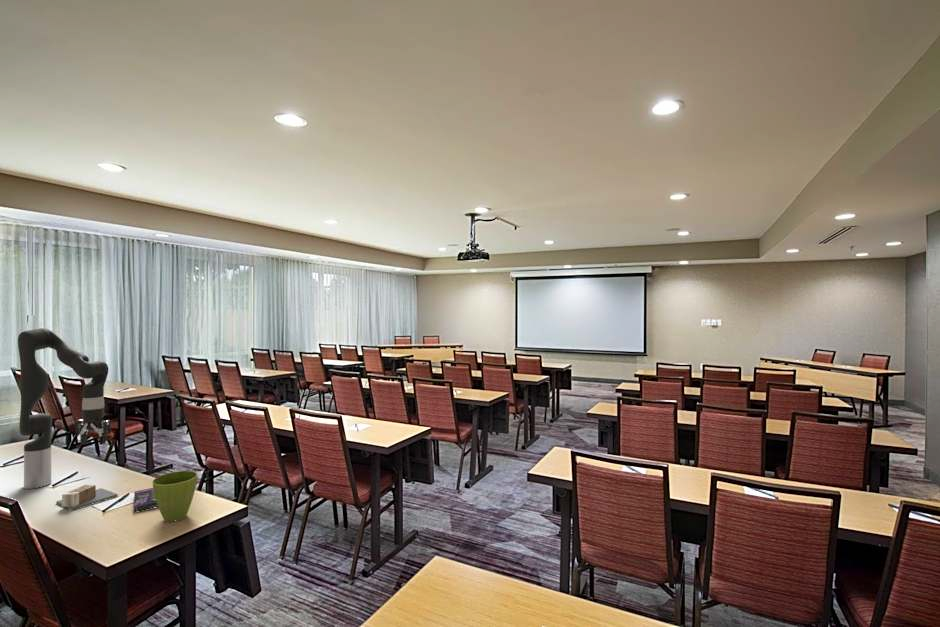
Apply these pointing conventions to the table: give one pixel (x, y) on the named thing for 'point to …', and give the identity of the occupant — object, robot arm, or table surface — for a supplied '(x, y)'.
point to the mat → (100, 495)
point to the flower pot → (174, 493)
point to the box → (144, 499)
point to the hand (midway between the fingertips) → (93, 443)
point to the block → (78, 495)
